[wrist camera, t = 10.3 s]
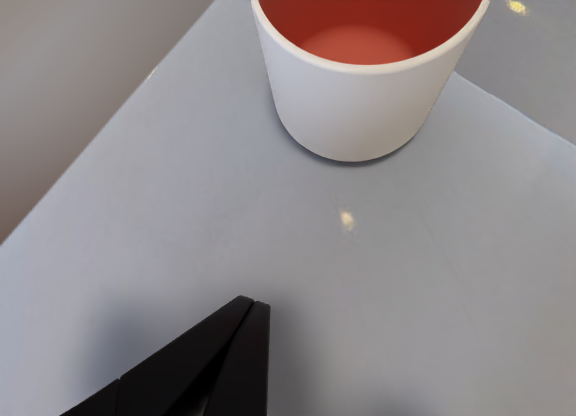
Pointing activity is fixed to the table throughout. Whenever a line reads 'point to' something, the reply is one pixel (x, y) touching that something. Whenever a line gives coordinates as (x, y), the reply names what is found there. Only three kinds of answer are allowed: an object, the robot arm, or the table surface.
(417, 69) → the cup
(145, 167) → the table surface
